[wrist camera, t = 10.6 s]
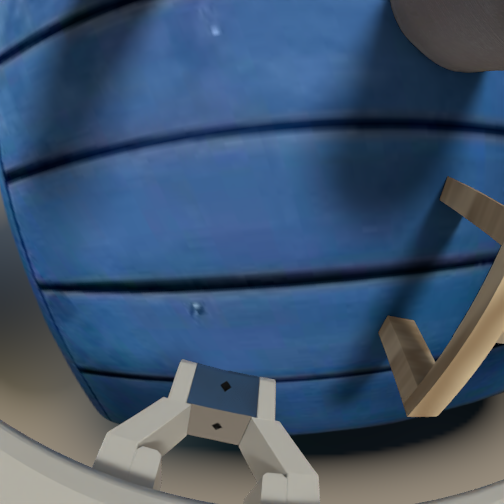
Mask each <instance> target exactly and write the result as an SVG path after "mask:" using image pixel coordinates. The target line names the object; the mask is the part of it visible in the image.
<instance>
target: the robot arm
mask: <svg viewBox="0 0 504 504" xmlns="http://www.w3.org/2000/svg"><path fill="white" fill-rule="evenodd" d="M275 398H276V382H275V380H274V379H269V378H263V377H258V376H253V375H248V374H243V373H237V372H233V371H226V370H222V369H218V368H214V367H210V366H206V365H203V364H199V363H195V362H191V361H187V360H184V359H182V360H181V362H180V364H179V367H178V369H177V372H176V375H175V378H174V381H173V384H172V387H171V390H170V393H169V396H168V398H166V397H162V398H161V399H159V400H158V401H156V402H155V403H153V404H152V405H150V406H149V407H147V408H145V409H144V410H142V411H141V412H139V413H138V414H136V415H134V416H133V417H131V418H130V419H128V420H126V421H125V422H123V423H122V424H120V425H118V426H117V427H115V428H114V429H112V430H110V431H109V432H107V434H106V436H105V439H104V441H103V444H102V446H101V448H100V450H99V453H98V455H97V457H96V460H95V462H94V465H93V467H92V468H91V467H89V466H86V465H84V464H82V463H79V462H77V461H75V460H73V459H71V458H68V457H66V456H64V455H62V454H60V453H58V452H56V451H54V450H52V449H50V448H48V447H46V446H44V445H42V444H41V443H39V442H37V441H35V440H33V439H31V438H30V437H28V436H26V435H24V434H23V433H21V432H19V431H18V430H16V429H14V428H13V427H11V426H10V425H8V424H6V423H5V422H3V421H2V420H0V504H214V503H208V502H204V501H199V500H193V499H189V498H185V497H181V496H176V495H173V494H168V493H165V492H161V491H160V488H161V484H162V471H161V470H162V465H161V463H162V462H161V461H162V460H161V459H162V456H164V455H165V454H166V453H167V452H168V451H169V450H170V449H172V448H173V447H174V446H175V445H176V444H178V442H180V441H181V440H182V439H183V438H184V437H186V435H187V434H188V435H193V436H197V437H202V438H208V439H213V440H217V441H221V442H226V443H231V444H235V445H239V448H240V450H241V452H242V454H243V456H244V458H245V460H246V462H247V464H248V466H249V468H250V470H251V472H252V474H253V476H254V478H255V480H256V482H257V484H256V485H255V487H254V488H253V489H252V490H251V492H250V493H249V494H248V495H247V497H246V498H245V499H244V504H320V496H319V476H318V474H317V473H316V472H315V470H314V469H313V468H312V466H311V465H310V463H309V462H308V461H307V459H306V458H305V457H304V455H303V454H302V453H301V451H300V450H299V448H298V447H297V446H296V445H295V443H294V441H293V440H292V439H291V437H290V436H289V434H288V433H287V432H286V430H285V429H284V427H283V426H282V424H281V423H280V422H279V421H275ZM417 504H504V480H501V481H498V482H496V483H493V484H490V485H487V486H484V487H481V488H478V489H474V490H471V491H468V492H464V493H461V494H457V495H453V496H449V497H445V498H441V499H437V500H432V501H427V502H422V503H417Z"/></svg>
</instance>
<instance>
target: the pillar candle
mask: <svg viewBox="0 0 504 504" xmlns="http://www.w3.org/2000/svg"><path fill="white" fill-rule="evenodd" d="M390 2H391V7H392V10H393V14H394V17H395V19H396V21H397V23H398V25H399V27H400V29H401V31H402V32H403V34H404V35H405V36H406V37H407V39H408V40H409V41H410V42H411V43H412V44H413V45H415V46H416V47H417V48H418V49H419V50H420V51H421V52H422V53H423V54H424V55H425V56H427V57H428V58H429V59H431V60H432V61H433V62H435V63H436V64H438V65H439V66H441V67H444V68H446V69H449V70H452V71H458V72H483V71H496V70H498V71H502V70H504V0H390Z"/></svg>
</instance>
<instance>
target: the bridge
mask: <svg viewBox="0 0 504 504" xmlns="http://www.w3.org/2000/svg"><path fill="white" fill-rule="evenodd" d="M440 201H442V202H443V203H445V204H446V205H448V206H449V207H451V208H452V209H453V210H455V211H456V212H458V213H459V214H461V215H462V216H463V217H465V218H466V219H468V220H469V221H470V222H472V223H473V224H474V225H476V226H477V227H478V228H480V229H481V230H482V231H484V232H485V233H486V234H488V235H489V236H490V237H491V238H493V239H494V240H495V241H497V242H498V243H499V244H500V245H502V248H501V250H500V252H499V254H498V256H497V258H496V261H495V263H494V265H493V267H492V269H491V271H490V273H489V275H488V277H487V279H486V281H485V283H484V285H483V287H482V288H481V290H480V292H479V294H478V296H477V298H476V299H475V301H474V303H473V305H472V307H471V308H470V310H469V312H468V313H467V315H466V317H465V318H464V320H463V322H462V323H461V325H460V327H459V328H458V330H457V331H456V333H455V335H454V336H453V338H452V339H451V341H450V342H449V344H448V345H447V347H446V348H445V350H444V351H443V353H442V354H441V356H440V357H439V358H438V360H437V361H436V363H435V361H434V359H433V357H432V355H431V353H430V351H429V349H428V347H427V345H426V343H425V341H424V339H423V337H422V335H421V333H420V331H419V329H418V327H417V325H416V324H415V322H414V320H408V319H403V318H398V317H392V316H387V318H386V319H385V321H384V323H383V325H382V327H381V329H380V330H379V332H378V333H379V336H380V339H381V341H382V344H383V347H384V349H385V352H386V355H387V358H388V360H389V363H390V366H391V369H392V372H393V375H394V378H395V381H396V384H397V387H398V390H399V393H400V396H401V399H402V402H403V405H404V408H405V411H406V415H407V417H432V416H438V415H439V414H440V413H441V412H442V411H443V410H444V408H445V407H446V406H447V405H448V404H449V403H450V402H451V401H452V399H453V398H454V397H455V396H456V395H457V394H458V392H459V391H460V390H461V389H462V388H463V386H464V385H465V384H466V383H467V381H468V380H469V379H470V378H471V376H472V375H473V374H474V372H475V371H476V370H477V368H478V367H479V366H480V364H481V363H482V362H483V360H484V359H485V358H486V356H487V355H488V353H489V352H490V351H491V349H492V348H493V346H494V345H495V343H496V342H497V340H498V339H499V337H500V336H501V334H502V333H503V331H504V205H502V204H500V203H499V202H497V201H495V200H494V199H492V198H490V197H488V196H486V195H485V194H483V193H481V192H479V191H477V190H475V189H473V188H471V187H469V186H467V185H465V184H463V183H461V182H459V181H457V180H455V179H453V178H450V177H447V180H446V183H445V186H444V189H443V192H442V194H441V197H440Z"/></svg>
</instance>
